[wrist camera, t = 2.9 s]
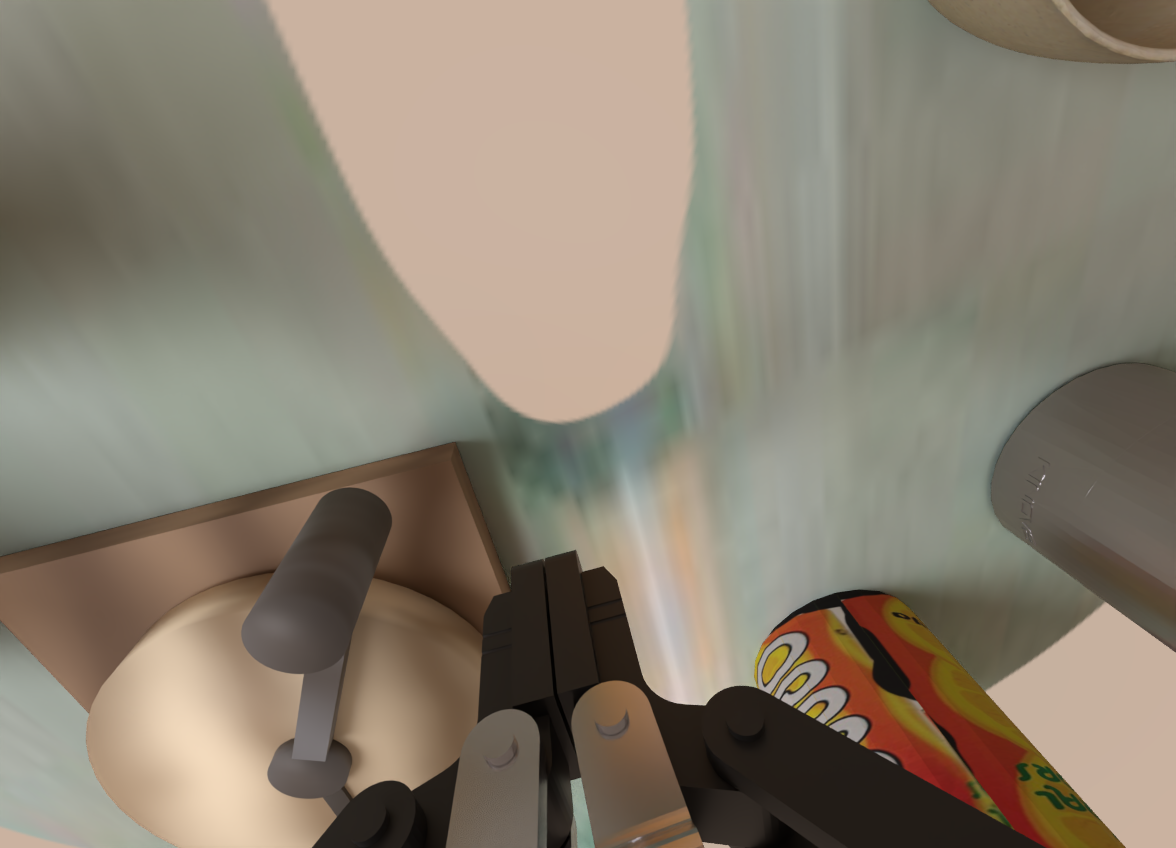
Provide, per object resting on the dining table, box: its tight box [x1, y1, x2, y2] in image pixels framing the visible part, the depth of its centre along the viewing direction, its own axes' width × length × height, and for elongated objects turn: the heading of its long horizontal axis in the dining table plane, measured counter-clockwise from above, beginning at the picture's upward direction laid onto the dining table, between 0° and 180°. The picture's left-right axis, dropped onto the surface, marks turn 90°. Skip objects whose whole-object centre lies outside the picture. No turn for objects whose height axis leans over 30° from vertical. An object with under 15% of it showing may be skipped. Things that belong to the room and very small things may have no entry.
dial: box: [86, 487, 483, 848], centre depth 20 cm, size 16×20×7 cm
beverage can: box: [754, 590, 1126, 848], centre depth 23 cm, size 9×9×12 cm
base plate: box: [0, 442, 511, 714], centre depth 24 cm, size 18×19×2 cm
